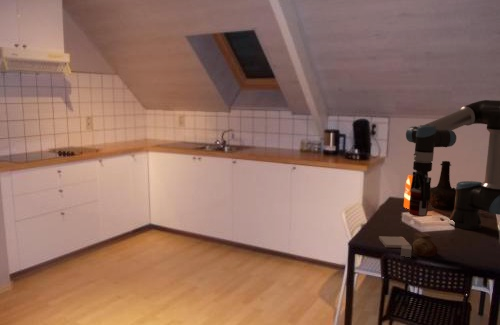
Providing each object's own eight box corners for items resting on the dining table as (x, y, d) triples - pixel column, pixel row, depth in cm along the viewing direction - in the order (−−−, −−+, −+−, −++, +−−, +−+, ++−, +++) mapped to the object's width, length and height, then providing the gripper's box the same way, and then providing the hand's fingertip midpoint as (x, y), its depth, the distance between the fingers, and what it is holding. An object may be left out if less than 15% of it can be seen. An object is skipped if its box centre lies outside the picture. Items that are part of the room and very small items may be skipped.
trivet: (402, 239, 200) (402, 236, 200) (410, 248, 189) (411, 245, 189) (378, 238, 200) (379, 236, 200) (385, 247, 190) (386, 244, 189)
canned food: (426, 212, 191) (428, 188, 190) (428, 217, 184) (430, 192, 182) (408, 210, 194) (410, 187, 192) (409, 215, 186) (411, 190, 184)
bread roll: (410, 256, 190) (404, 240, 188) (431, 246, 190) (425, 230, 188) (420, 265, 180) (414, 249, 179) (443, 255, 180) (436, 238, 179)
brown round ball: (423, 242, 197) (424, 232, 196) (430, 246, 192) (431, 235, 191) (413, 243, 196) (414, 232, 195) (420, 247, 191) (421, 236, 190)
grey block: (410, 255, 181) (411, 246, 181) (410, 258, 178) (411, 249, 177) (400, 253, 183) (401, 244, 182) (400, 257, 179) (401, 248, 178)
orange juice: (423, 210, 250) (426, 176, 246) (407, 210, 250) (410, 176, 246) (418, 206, 258) (421, 174, 254) (403, 206, 258) (406, 173, 254)
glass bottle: (464, 212, 249) (470, 164, 244) (433, 211, 249) (438, 163, 244) (450, 203, 266) (455, 159, 261) (421, 203, 266) (425, 158, 261)
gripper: (405, 157, 195) (400, 205, 199) (424, 165, 175) (419, 219, 178) (421, 157, 195) (417, 206, 199) (442, 165, 175) (437, 219, 179)
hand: (418, 212), depth 189 cm, fingers closed on canned food, 8 cm apart
